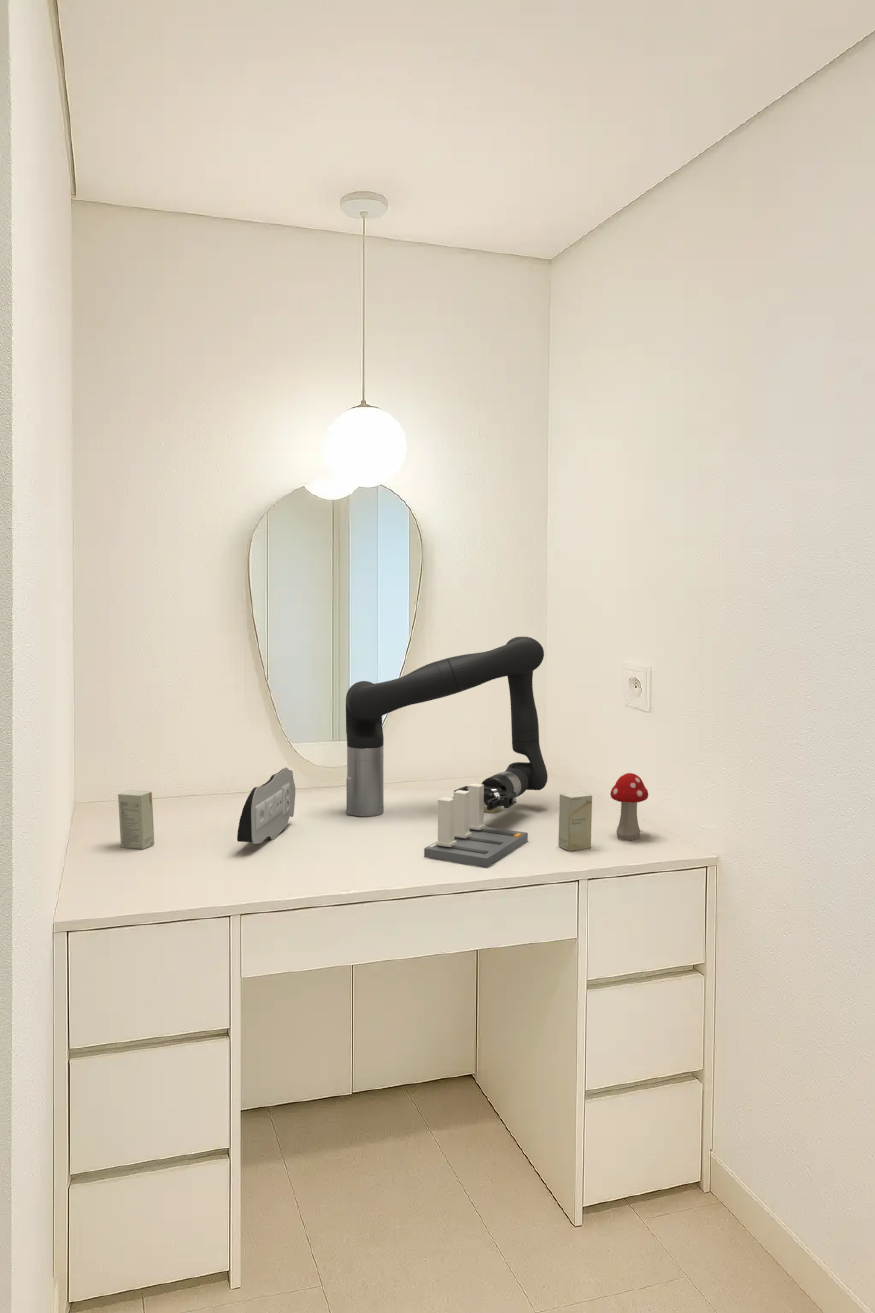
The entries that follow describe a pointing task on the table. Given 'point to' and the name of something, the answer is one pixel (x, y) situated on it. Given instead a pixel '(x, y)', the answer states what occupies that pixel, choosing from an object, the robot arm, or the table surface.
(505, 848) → the board
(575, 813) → the skincare box
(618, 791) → the decorative mushroom
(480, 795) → the post
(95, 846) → the table surface
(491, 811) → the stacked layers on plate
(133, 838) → the skincare box
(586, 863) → the table surface
